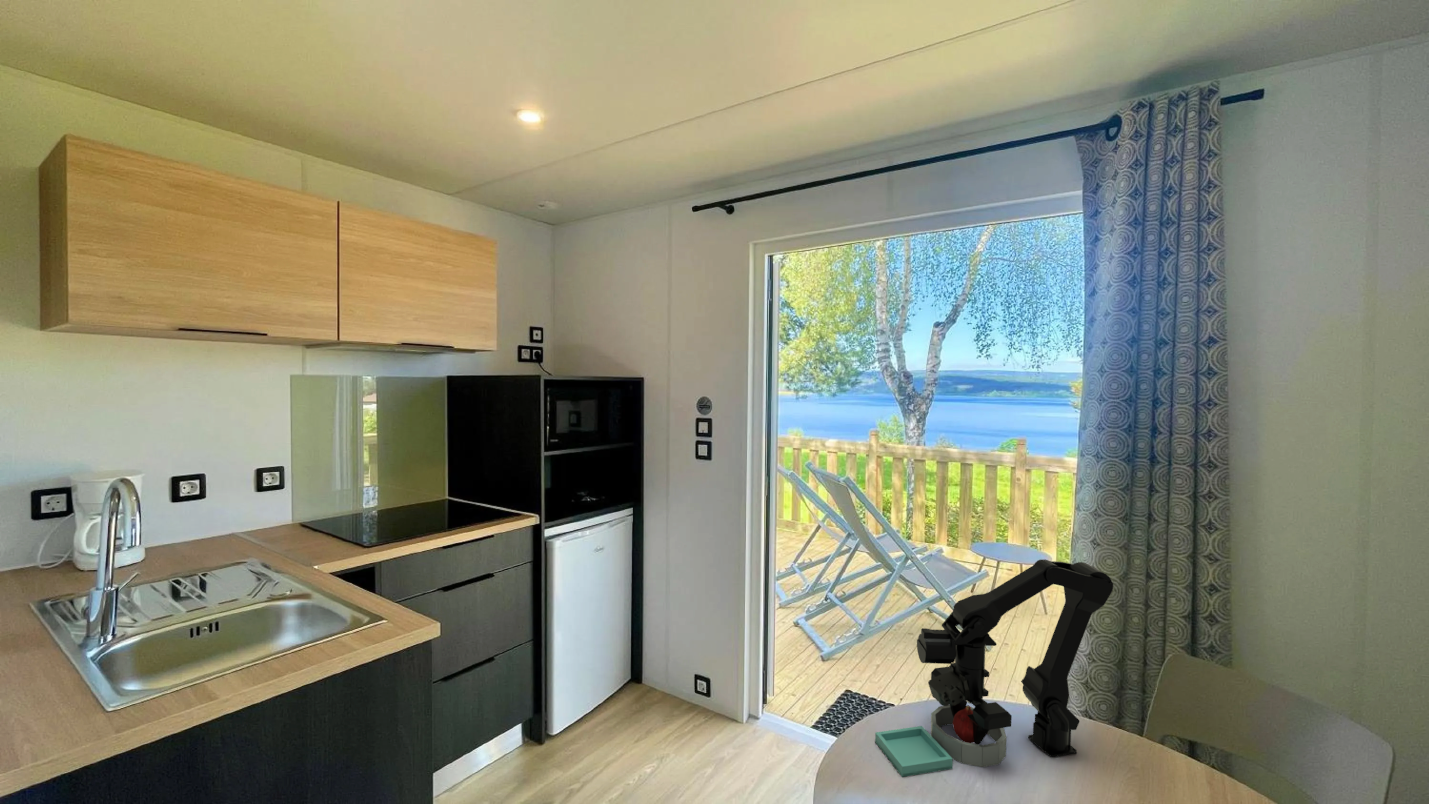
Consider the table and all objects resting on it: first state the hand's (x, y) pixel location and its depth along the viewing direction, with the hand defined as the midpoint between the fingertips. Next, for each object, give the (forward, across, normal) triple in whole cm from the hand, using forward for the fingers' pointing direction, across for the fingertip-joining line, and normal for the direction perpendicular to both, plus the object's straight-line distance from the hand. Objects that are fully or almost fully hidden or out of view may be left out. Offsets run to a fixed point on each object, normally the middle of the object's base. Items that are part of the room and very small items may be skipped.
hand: (967, 734), depth 119 cm
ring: (+2, 0, 0) cm, 2 cm away
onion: (+2, 0, 0) cm, 2 cm away
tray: (+2, +1, -14) cm, 14 cm away
